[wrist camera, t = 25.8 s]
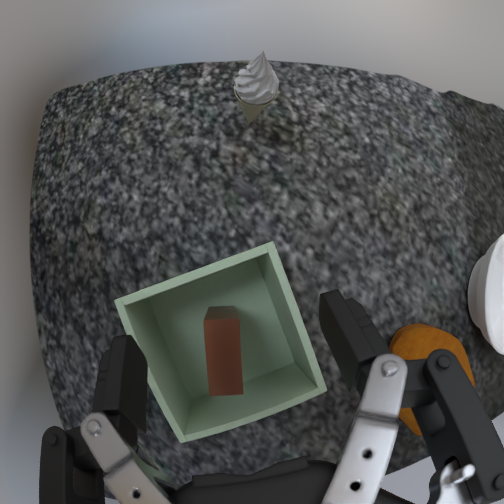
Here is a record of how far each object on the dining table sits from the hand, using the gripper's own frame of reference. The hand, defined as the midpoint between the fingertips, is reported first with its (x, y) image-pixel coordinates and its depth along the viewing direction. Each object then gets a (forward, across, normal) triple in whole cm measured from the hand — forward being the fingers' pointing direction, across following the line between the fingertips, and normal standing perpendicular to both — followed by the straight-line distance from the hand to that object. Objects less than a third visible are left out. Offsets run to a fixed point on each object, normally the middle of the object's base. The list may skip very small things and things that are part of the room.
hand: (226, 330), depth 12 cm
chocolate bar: (+16, +2, +18) cm, 24 cm away
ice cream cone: (+33, -7, -2) cm, 34 cm away
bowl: (+14, -44, +26) cm, 53 cm away
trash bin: (+16, +2, +18) cm, 25 cm away
